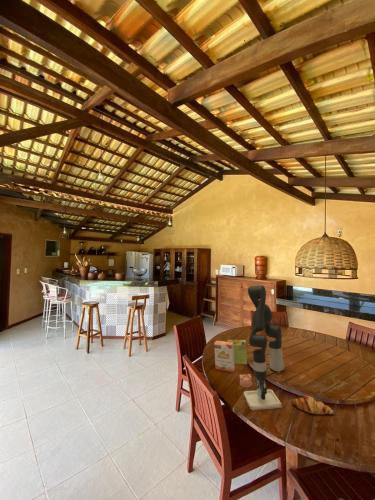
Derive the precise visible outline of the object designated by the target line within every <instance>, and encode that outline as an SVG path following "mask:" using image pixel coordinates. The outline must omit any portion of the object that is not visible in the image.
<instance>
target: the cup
mask: <svg viewBox="0 0 375 500" xmlns="http://www.w3.org/2000/svg"><path fill="white" fill-rule="evenodd" d="M239 378H240V380H239V385H240V386H241V387H243V388H251V387H252V386H253V382H252V380H253V377H252V375H251V374H250V373H248V374H239Z"/></svg>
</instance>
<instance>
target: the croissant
mask: <svg viewBox="0 0 375 500" xmlns="http://www.w3.org/2000/svg"><path fill="white" fill-rule="evenodd" d="M290 403H291V404H292V405H294V406H295V407H296V408H297V409H299V410H301V411H303V412H305V413H307V414H312V415H326V414H327V415H332V414H333V413H334V410H333V409H332V408H331V407H330V406H329V405H325V404H324V402H322V400H316V399H315V398H314V397H312V396H310V395H303V397H300V396H299V398H292V399H290Z"/></svg>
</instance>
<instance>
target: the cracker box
mask: <svg viewBox="0 0 375 500" xmlns="http://www.w3.org/2000/svg"><path fill="white" fill-rule="evenodd" d="M213 343H214V363H215V365H214V366H215V370H219V371H224V372H229V373H233V372H234V371H235V365H236V364H234V347H233V342H228V341H224V340H216V341H215V342H213Z"/></svg>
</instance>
